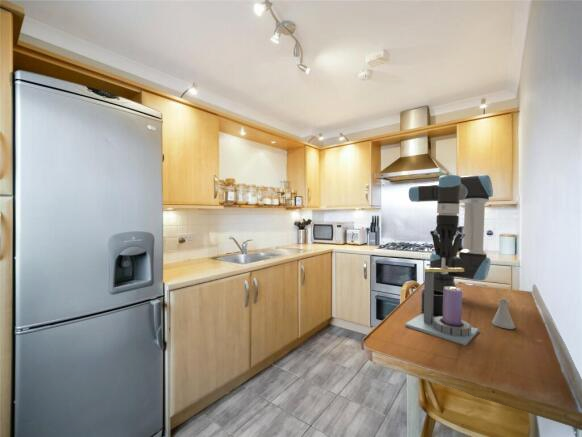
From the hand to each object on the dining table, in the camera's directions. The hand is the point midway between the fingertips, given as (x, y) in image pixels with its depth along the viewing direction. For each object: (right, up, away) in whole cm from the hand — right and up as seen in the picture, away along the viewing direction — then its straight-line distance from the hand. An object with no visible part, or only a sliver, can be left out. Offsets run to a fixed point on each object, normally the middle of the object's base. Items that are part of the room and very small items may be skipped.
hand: (444, 273), depth 105 cm
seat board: (-5, -20, -6) cm, 21 cm away
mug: (+2, -20, +10) cm, 22 cm away
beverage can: (-2, -19, -9) cm, 21 cm away
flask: (+21, -20, -2) cm, 29 cm away
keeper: (-2, +1, -2) cm, 3 cm away
